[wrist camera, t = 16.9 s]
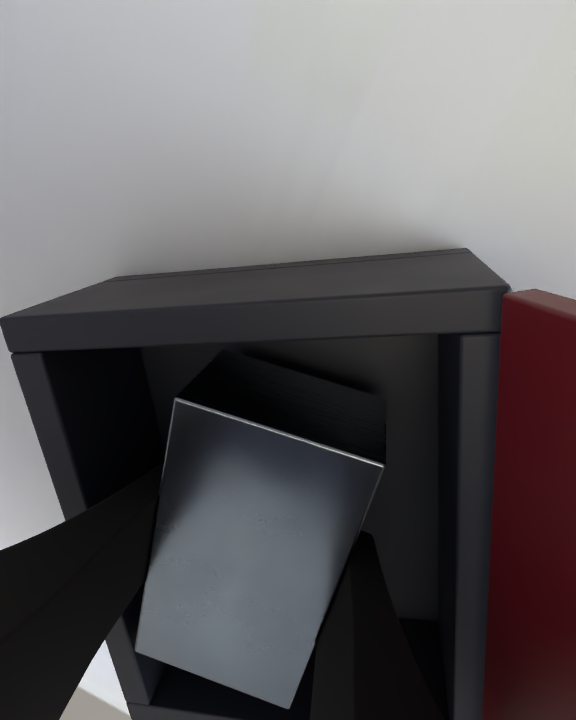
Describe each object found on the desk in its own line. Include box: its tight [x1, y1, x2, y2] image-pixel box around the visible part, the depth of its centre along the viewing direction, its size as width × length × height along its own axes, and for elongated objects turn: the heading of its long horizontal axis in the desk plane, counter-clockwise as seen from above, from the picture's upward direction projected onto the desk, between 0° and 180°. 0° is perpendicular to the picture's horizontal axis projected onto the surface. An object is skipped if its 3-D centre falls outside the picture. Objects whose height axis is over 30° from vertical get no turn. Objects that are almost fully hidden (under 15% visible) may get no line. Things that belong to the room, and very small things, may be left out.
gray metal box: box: [135, 349, 387, 709], centre depth 12 cm, size 4×8×3 cm, turn 167°
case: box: [0, 248, 512, 720], centre depth 13 cm, size 10×13×5 cm
